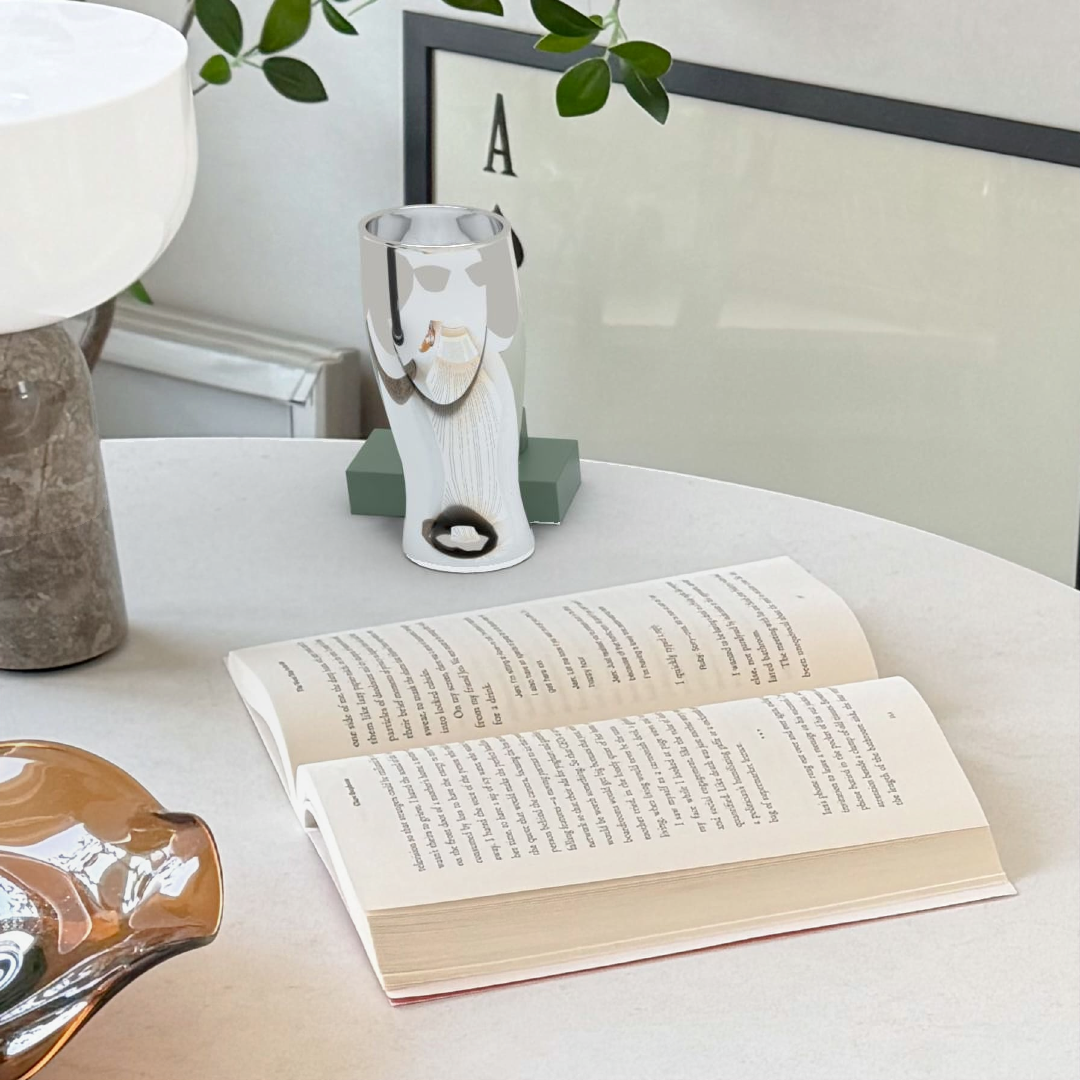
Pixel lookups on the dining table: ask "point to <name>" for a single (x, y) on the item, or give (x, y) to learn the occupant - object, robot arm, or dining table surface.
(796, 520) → the dining table surface
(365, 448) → the green block
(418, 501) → the beer glass
